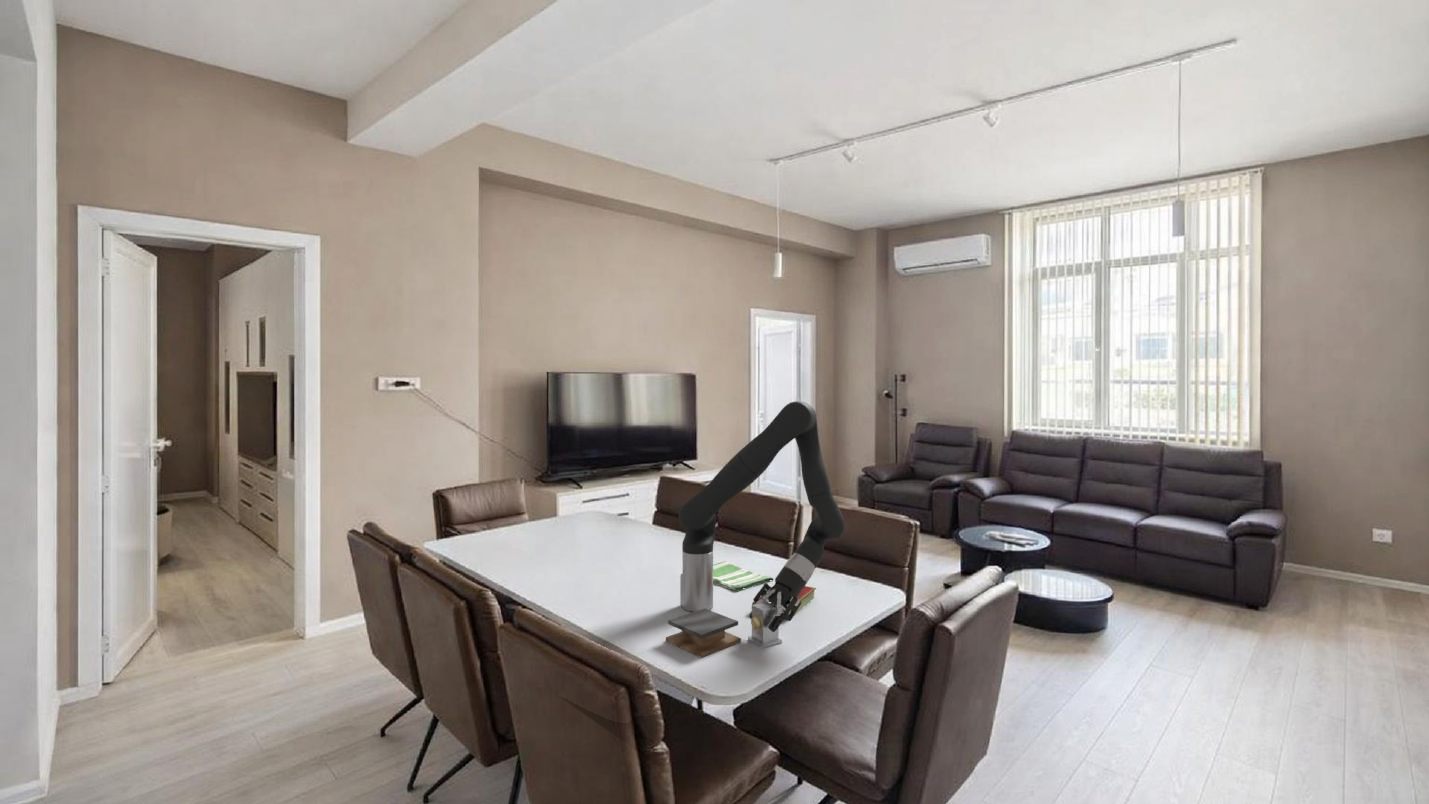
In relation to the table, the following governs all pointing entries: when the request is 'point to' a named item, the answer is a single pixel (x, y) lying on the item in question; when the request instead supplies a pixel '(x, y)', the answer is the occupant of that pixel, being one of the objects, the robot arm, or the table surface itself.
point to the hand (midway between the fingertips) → (761, 624)
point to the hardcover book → (802, 597)
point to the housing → (763, 625)
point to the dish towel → (736, 577)
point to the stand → (703, 632)
